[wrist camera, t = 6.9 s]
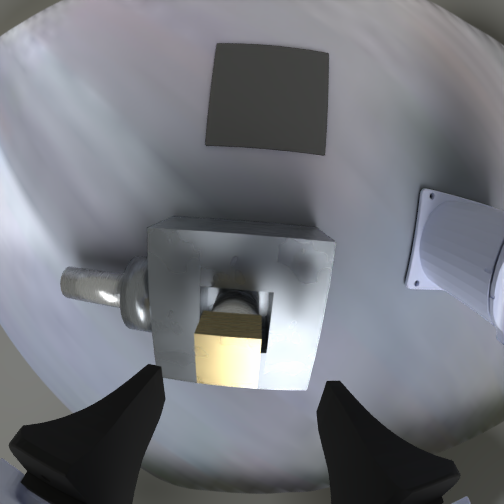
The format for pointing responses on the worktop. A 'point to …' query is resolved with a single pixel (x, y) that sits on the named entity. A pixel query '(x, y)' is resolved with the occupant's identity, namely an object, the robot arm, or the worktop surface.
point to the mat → (268, 98)
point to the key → (229, 340)
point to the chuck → (211, 280)
